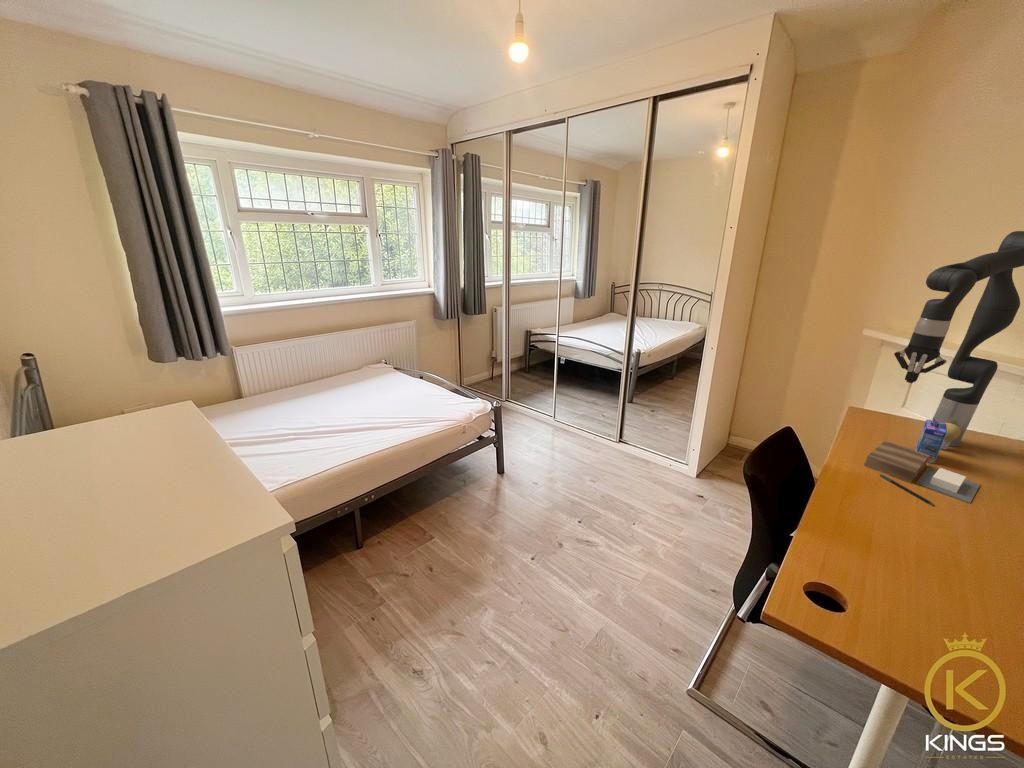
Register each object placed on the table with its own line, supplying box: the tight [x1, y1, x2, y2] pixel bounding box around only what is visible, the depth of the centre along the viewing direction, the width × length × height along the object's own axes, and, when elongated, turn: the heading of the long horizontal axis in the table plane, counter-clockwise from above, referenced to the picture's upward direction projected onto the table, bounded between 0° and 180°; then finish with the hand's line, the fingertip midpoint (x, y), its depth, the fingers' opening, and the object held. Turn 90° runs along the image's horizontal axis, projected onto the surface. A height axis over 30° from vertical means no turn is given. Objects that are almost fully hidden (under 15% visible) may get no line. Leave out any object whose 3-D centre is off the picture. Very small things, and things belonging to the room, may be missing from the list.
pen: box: [879, 473, 936, 507], centre depth 124 cm, size 1×16×1 cm, turn 10°
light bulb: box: [940, 423, 961, 450], centre depth 147 cm, size 6×6×10 cm
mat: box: [915, 466, 981, 504], centre depth 127 cm, size 16×12×1 cm
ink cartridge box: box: [914, 416, 947, 464], centre depth 141 cm, size 10×6×14 cm, turn 136°
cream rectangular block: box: [930, 467, 967, 493], centre depth 127 cm, size 9×6×2 cm, turn 125°
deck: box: [863, 440, 930, 483], centre depth 137 cm, size 18×12×4 cm, turn 125°
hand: (909, 382), depth 136 cm, fingers closed
